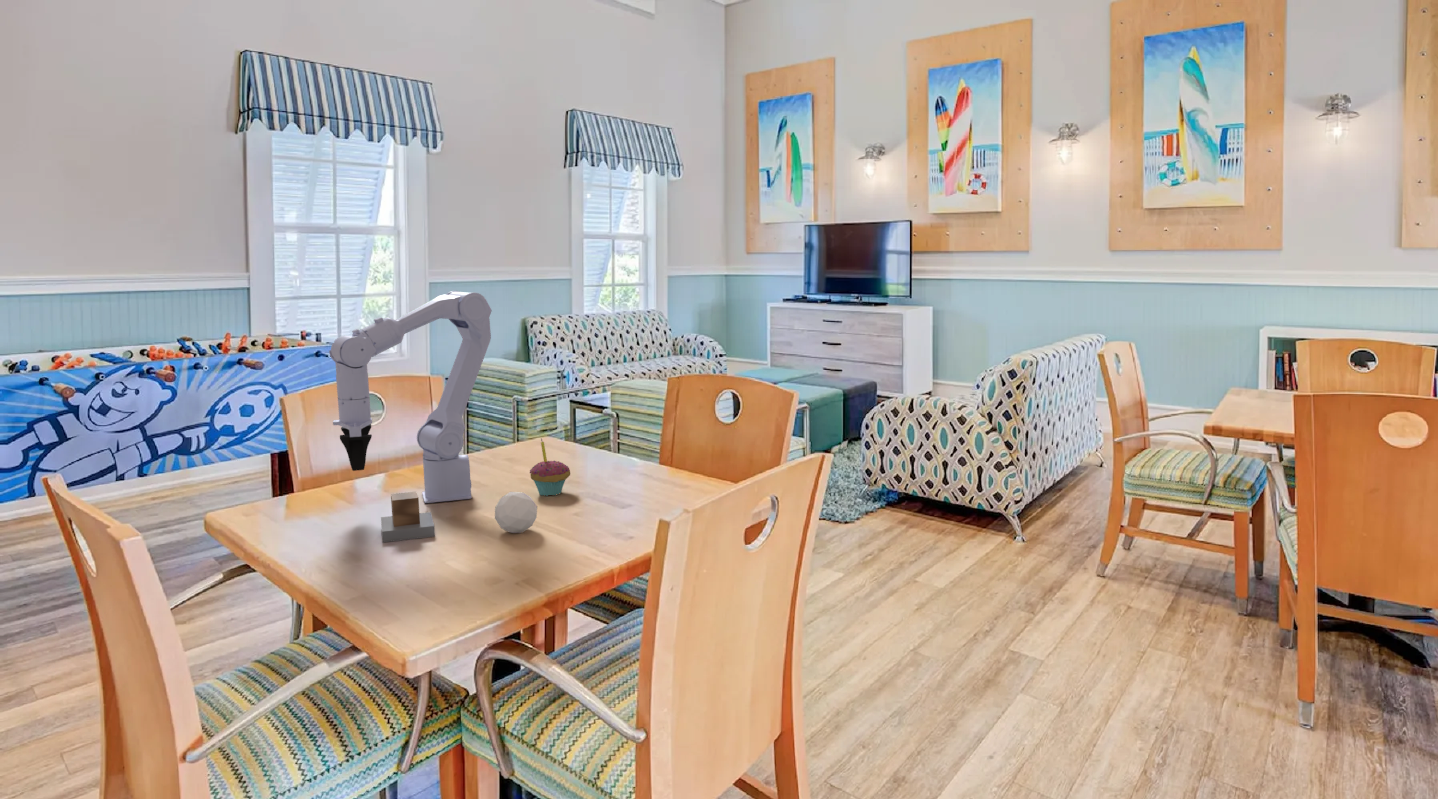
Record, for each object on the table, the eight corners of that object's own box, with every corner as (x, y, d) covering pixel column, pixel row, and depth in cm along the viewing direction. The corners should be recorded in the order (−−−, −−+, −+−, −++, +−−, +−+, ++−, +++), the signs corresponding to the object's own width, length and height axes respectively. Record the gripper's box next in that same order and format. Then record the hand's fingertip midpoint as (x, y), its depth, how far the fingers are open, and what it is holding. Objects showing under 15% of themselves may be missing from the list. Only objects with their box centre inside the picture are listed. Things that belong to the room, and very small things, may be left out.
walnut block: (417, 516, 163) (416, 491, 162) (419, 523, 159) (418, 497, 158) (392, 519, 161) (390, 494, 160) (394, 526, 157) (392, 500, 156)
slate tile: (431, 521, 166) (430, 512, 166) (434, 536, 158) (434, 525, 158) (381, 527, 163) (380, 517, 163) (382, 542, 155) (381, 531, 155)
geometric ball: (516, 541, 164) (524, 502, 167) (540, 535, 159) (549, 495, 162) (482, 529, 159) (491, 489, 163) (506, 523, 154) (516, 481, 158)
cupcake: (522, 495, 184) (520, 441, 182) (545, 485, 192) (543, 433, 190) (557, 500, 181) (555, 445, 179) (578, 490, 189) (577, 436, 187)
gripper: (332, 392, 172) (337, 458, 175) (329, 405, 159) (335, 476, 161) (370, 390, 175) (374, 455, 177) (370, 402, 162) (375, 472, 164)
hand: (358, 465), depth 170 cm, fingers open, 7 cm apart
